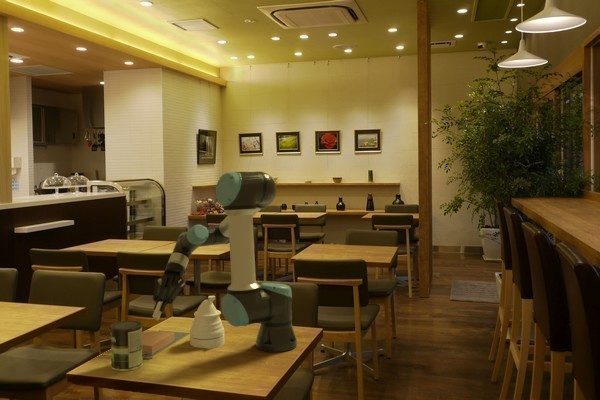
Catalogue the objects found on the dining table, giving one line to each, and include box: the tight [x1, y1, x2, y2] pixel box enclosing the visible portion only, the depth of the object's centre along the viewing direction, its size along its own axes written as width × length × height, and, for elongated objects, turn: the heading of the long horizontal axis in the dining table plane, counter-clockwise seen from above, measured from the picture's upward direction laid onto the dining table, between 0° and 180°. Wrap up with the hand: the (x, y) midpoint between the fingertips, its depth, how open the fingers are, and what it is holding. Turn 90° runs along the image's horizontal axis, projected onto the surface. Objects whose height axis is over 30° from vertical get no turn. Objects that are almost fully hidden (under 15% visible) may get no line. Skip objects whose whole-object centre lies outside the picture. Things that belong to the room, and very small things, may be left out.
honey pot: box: [189, 295, 226, 350], centre depth 210 cm, size 13×13×18 cm
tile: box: [142, 330, 174, 355], centre depth 206 cm, size 3×12×16 cm
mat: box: [142, 330, 190, 360], centre depth 209 cm, size 30×14×1 cm, turn 164°
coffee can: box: [109, 320, 144, 372], centre depth 187 cm, size 10×10×14 cm
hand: (155, 318), depth 210 cm, fingers closed
